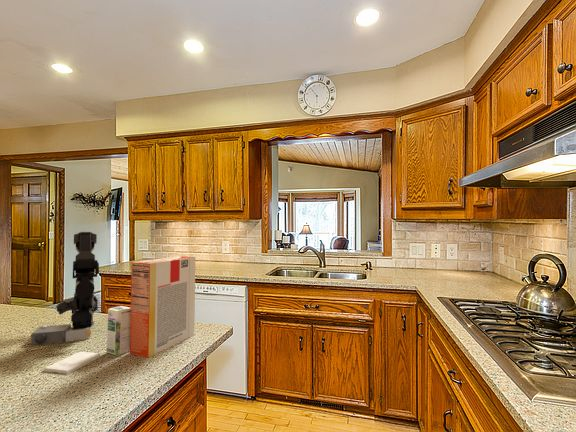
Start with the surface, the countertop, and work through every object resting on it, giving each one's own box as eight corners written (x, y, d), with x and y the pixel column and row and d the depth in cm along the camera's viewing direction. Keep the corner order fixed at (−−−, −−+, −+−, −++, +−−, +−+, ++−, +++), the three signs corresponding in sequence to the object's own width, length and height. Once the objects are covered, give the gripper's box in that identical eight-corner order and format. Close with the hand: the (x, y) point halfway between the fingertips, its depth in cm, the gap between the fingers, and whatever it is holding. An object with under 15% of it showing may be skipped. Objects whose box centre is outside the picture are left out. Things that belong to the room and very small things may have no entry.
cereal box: (177, 332, 130) (178, 256, 130) (194, 334, 126) (195, 257, 127) (129, 353, 108) (131, 262, 109) (148, 357, 105) (150, 263, 106)
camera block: (70, 334, 126) (71, 322, 126) (63, 342, 117) (63, 330, 117) (39, 337, 122) (39, 325, 122) (29, 346, 114) (29, 332, 114)
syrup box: (105, 353, 108) (106, 308, 109) (122, 347, 114) (122, 305, 114) (116, 356, 106) (117, 311, 106) (132, 350, 111) (133, 307, 111)
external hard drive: (100, 358, 105) (67, 376, 93) (78, 356, 107) (43, 373, 95) (100, 353, 105) (67, 370, 93) (78, 351, 107) (43, 367, 95)
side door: (90, 337, 121) (90, 328, 122) (62, 342, 116) (62, 332, 116) (90, 336, 123) (90, 327, 123) (62, 341, 117) (62, 331, 118)
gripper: (62, 287, 127) (61, 327, 127) (53, 299, 110) (52, 345, 110) (95, 285, 132) (94, 324, 132) (92, 296, 115) (91, 340, 115)
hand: (83, 332), depth 122 cm, fingers closed
